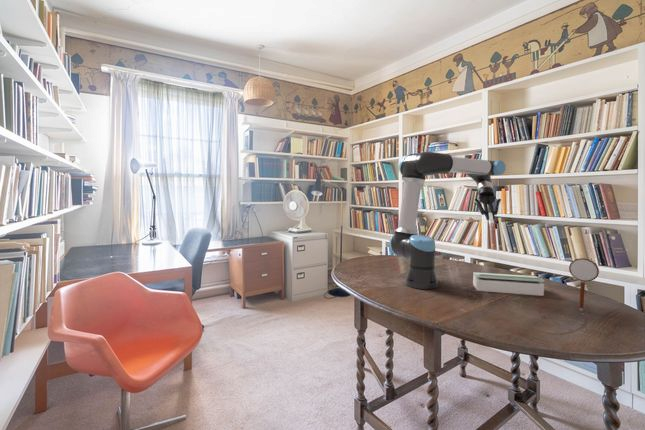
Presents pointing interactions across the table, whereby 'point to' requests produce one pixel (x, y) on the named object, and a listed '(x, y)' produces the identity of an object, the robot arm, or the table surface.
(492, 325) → the table surface
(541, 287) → the cable duct
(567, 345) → the table surface
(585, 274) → the magnifying glass
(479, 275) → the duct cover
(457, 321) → the table surface
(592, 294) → the table surface
